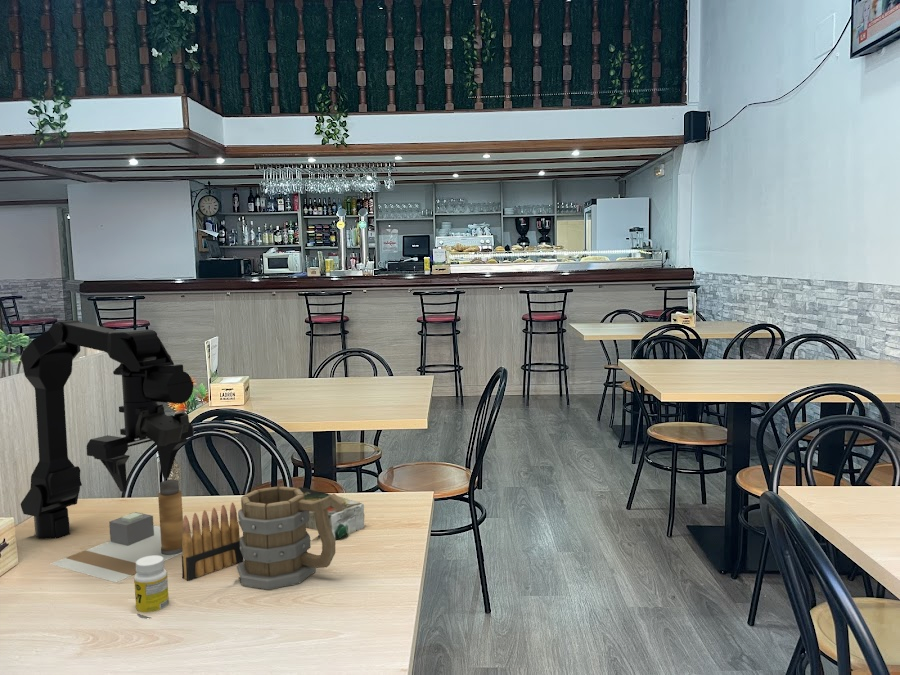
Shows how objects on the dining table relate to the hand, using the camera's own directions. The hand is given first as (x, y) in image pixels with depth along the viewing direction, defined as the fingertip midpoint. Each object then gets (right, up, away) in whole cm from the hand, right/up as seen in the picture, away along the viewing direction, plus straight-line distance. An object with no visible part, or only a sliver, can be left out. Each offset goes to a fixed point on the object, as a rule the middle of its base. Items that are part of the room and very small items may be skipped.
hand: (145, 484), depth 131 cm
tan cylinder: (+4, -13, +3) cm, 14 cm away
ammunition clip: (+15, -15, -6) cm, 22 cm away
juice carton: (+28, -13, +18) cm, 36 cm away
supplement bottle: (+9, -16, -19) cm, 27 cm away
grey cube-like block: (-7, -13, +10) cm, 17 cm away
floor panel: (-3, -14, +3) cm, 15 cm away
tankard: (+29, -15, -7) cm, 33 cm away
